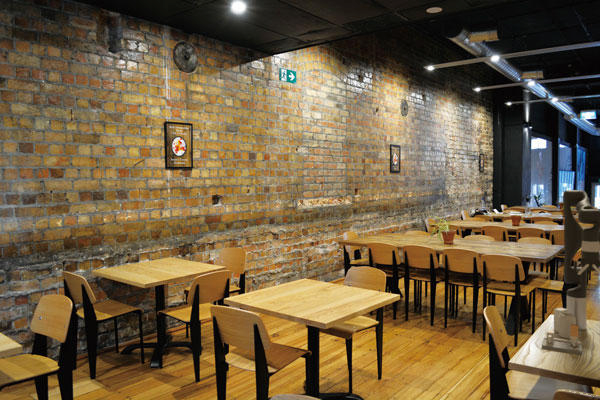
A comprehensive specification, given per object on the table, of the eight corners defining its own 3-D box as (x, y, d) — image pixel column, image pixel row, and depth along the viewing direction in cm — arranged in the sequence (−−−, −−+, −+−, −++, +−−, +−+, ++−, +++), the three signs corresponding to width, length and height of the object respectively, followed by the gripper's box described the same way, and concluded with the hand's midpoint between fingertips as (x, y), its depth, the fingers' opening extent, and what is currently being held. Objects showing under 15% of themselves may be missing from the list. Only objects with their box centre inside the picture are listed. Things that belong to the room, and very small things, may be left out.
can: (571, 334, 230) (571, 312, 230) (578, 339, 223) (578, 316, 222) (556, 334, 231) (556, 312, 231) (563, 339, 224) (563, 316, 223)
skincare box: (561, 333, 233) (561, 311, 232) (553, 331, 236) (553, 309, 236) (568, 331, 235) (568, 309, 235) (560, 329, 239) (560, 307, 239)
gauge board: (541, 348, 213) (541, 334, 213) (543, 340, 223) (543, 327, 223) (582, 354, 204) (582, 340, 204) (582, 346, 214) (582, 333, 214)
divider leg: (570, 347, 208) (570, 328, 208) (570, 342, 214) (570, 323, 214) (577, 348, 206) (577, 329, 206) (578, 343, 213) (578, 324, 212)
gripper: (608, 250, 215) (607, 282, 216) (573, 248, 223) (573, 279, 224) (608, 252, 209) (608, 286, 210) (573, 250, 217) (573, 282, 218)
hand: (590, 282), depth 217 cm, fingers open, 8 cm apart
